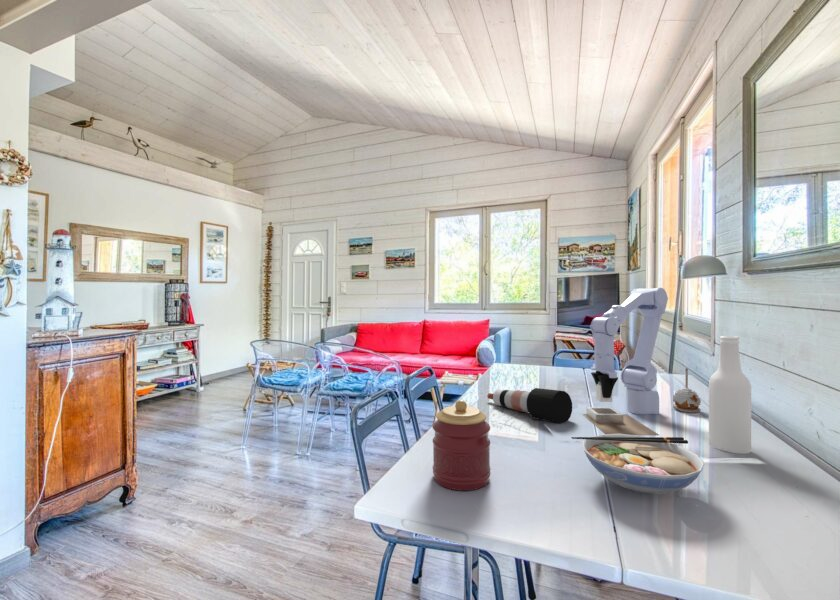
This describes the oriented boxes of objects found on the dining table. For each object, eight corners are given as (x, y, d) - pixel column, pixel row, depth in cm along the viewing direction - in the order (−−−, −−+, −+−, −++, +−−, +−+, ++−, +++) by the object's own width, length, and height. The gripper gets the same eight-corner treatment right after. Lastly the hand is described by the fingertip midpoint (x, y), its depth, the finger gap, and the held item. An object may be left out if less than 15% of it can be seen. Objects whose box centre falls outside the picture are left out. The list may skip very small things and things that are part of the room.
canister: (424, 470, 93) (423, 396, 93) (473, 462, 98) (472, 391, 97) (447, 496, 81) (446, 410, 81) (501, 485, 85) (501, 404, 85)
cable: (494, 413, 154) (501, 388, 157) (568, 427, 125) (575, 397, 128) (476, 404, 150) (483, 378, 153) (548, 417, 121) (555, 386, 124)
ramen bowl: (594, 510, 75) (594, 467, 75) (566, 461, 98) (566, 428, 98) (738, 519, 72) (738, 475, 72) (675, 466, 94) (675, 432, 94)
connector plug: (607, 398, 130) (607, 377, 130) (612, 401, 126) (612, 380, 126) (596, 398, 130) (596, 377, 130) (600, 401, 126) (600, 379, 126)
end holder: (612, 414, 132) (612, 407, 132) (623, 422, 124) (623, 414, 124) (586, 414, 133) (586, 407, 132) (595, 422, 124) (595, 414, 124)
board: (627, 417, 132) (627, 414, 132) (659, 438, 113) (659, 435, 113) (581, 416, 133) (581, 413, 133) (605, 437, 113) (605, 434, 113)
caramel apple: (696, 415, 134) (696, 371, 134) (670, 410, 140) (670, 368, 140) (702, 410, 140) (702, 368, 140) (677, 406, 145) (677, 365, 145)
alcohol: (748, 448, 105) (748, 335, 105) (753, 460, 98) (753, 338, 97) (707, 441, 110) (707, 334, 110) (709, 452, 102) (709, 337, 102)
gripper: (583, 351, 135) (583, 390, 135) (600, 357, 121) (600, 401, 121) (604, 351, 135) (604, 390, 135) (623, 357, 120) (624, 402, 121)
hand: (604, 396), depth 128 cm, fingers closed on connector plug, 4 cm apart
